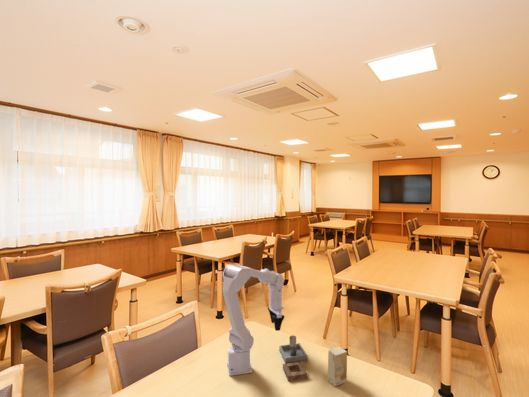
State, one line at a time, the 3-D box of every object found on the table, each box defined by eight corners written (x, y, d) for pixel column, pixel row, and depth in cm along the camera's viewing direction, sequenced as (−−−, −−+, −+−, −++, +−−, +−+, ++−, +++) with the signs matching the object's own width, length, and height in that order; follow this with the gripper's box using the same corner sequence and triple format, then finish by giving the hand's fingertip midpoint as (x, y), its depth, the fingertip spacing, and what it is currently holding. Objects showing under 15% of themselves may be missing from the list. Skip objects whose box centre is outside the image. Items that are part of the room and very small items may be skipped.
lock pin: (290, 356, 127) (290, 339, 127) (288, 353, 130) (288, 335, 130) (297, 355, 127) (297, 338, 127) (295, 352, 130) (294, 335, 130)
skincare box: (334, 387, 108) (334, 355, 108) (327, 380, 112) (327, 350, 112) (347, 381, 111) (347, 351, 111) (339, 375, 115) (339, 345, 114)
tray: (285, 363, 123) (285, 358, 123) (279, 350, 132) (279, 345, 132) (307, 360, 125) (307, 355, 125) (299, 348, 135) (299, 343, 134)
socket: (288, 381, 112) (288, 376, 111) (282, 368, 119) (282, 364, 119) (307, 378, 113) (307, 373, 113) (300, 366, 121) (300, 361, 121)
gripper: (288, 303, 128) (288, 332, 129) (279, 292, 142) (279, 318, 143) (272, 304, 127) (273, 334, 127) (266, 293, 141) (266, 320, 141)
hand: (275, 326), depth 135 cm, fingers open, 7 cm apart
